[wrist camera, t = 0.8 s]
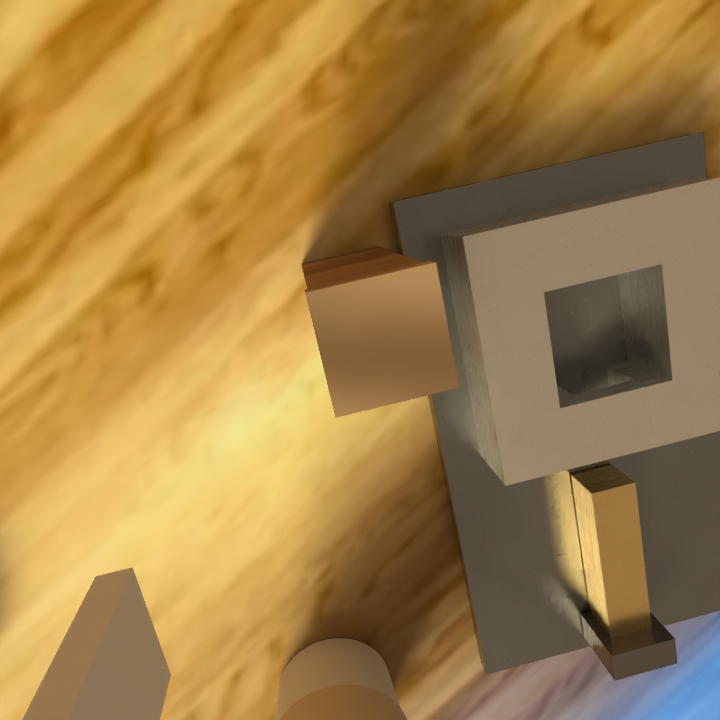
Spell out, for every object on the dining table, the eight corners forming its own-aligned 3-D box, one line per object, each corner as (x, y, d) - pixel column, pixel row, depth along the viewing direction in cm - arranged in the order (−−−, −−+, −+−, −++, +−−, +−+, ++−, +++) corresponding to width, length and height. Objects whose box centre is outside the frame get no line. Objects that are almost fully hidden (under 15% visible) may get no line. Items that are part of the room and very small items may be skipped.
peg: (299, 262, 31) (305, 292, 19) (380, 244, 31) (435, 262, 19) (318, 342, 32) (335, 417, 20) (396, 323, 32) (459, 387, 20)
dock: (389, 202, 31) (408, 200, 26) (690, 134, 31) (763, 119, 27) (481, 662, 38) (509, 729, 33) (725, 596, 38) (788, 651, 34)
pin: (560, 477, 34) (591, 507, 30) (622, 461, 34) (659, 489, 31) (583, 636, 37) (614, 680, 33) (640, 620, 37) (677, 663, 33)
